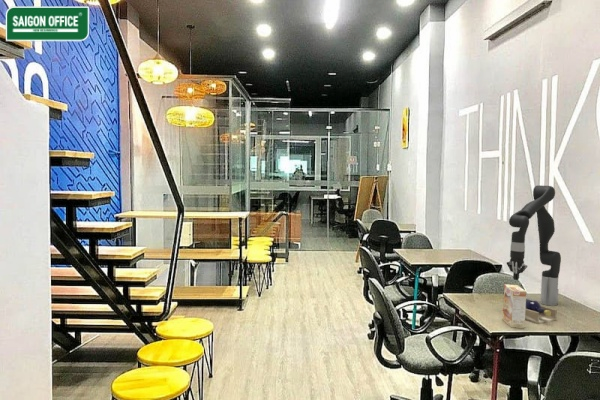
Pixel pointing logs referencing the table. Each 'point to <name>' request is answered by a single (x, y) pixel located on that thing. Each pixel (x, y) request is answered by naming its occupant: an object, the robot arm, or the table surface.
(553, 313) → the u rest
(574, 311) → the table surface
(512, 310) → the coffeecake box
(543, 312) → the bottle
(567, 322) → the table surface
